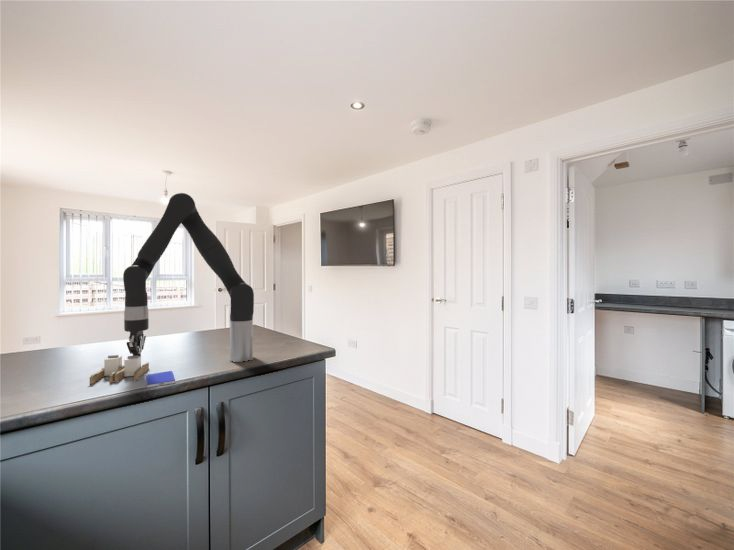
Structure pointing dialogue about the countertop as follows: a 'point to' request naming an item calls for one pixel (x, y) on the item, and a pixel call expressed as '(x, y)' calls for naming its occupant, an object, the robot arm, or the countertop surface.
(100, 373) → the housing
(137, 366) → the tab
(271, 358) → the countertop surface
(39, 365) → the countertop surface
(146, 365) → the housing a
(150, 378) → the hard drive
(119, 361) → the tab
